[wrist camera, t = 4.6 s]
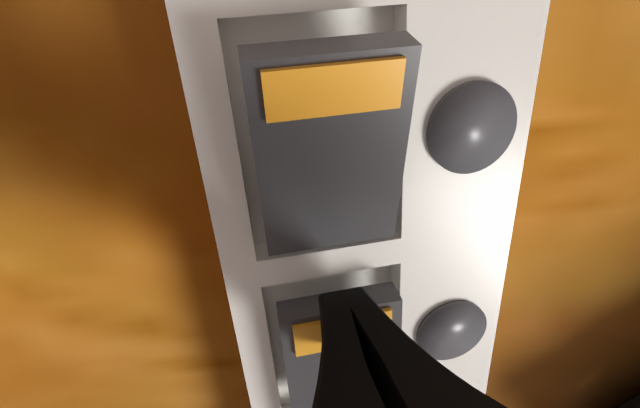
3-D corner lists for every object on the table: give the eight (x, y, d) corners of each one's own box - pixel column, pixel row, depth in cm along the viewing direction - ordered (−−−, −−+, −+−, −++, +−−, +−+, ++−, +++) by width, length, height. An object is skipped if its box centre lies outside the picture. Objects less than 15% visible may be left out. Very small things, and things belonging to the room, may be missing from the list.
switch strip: (445, 464, 24) (468, 514, 22) (278, 505, 23) (284, 563, 20) (506, -79, 12) (572, -101, 10) (165, -62, 11) (145, -82, 8)
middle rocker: (389, 398, 17) (400, 424, 16) (293, 419, 16) (297, 448, 15) (391, 281, 14) (404, 303, 13) (275, 301, 13) (278, 326, 12)
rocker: (384, 215, 14) (395, 239, 13) (265, 233, 13) (269, 260, 12) (406, 30, 10) (425, 47, 9) (237, 45, 9) (240, 65, 8)
